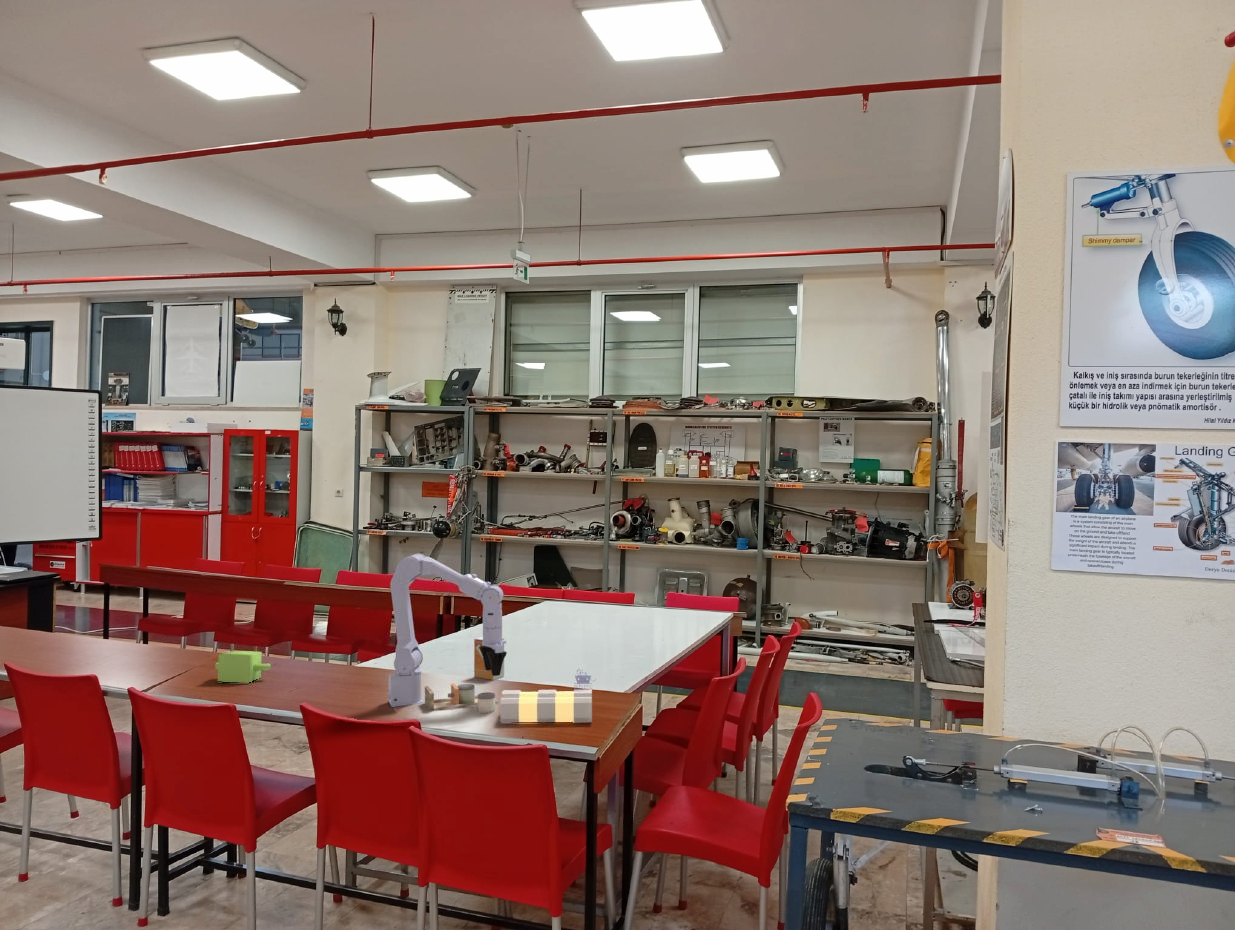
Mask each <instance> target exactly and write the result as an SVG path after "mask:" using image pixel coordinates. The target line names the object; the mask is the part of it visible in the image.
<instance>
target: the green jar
mask: <svg viewBox="0 0 1235 930" xmlns="http://www.w3.org/2000/svg"><path fill="white" fill-rule="evenodd" d="M456 686H457V687H458V688H459V704H467V703H475V695H476V694H475V693H476V692H475V684H472V683H462V684H458V685H456Z"/></svg>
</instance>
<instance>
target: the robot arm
mask: <svg viewBox="0 0 1235 930" xmlns="http://www.w3.org/2000/svg"><path fill="white" fill-rule="evenodd" d="M430 575H434V576H436V577H439V578H441V579H443V580H446V581H447V582H450V583H453V584H455V585H457V586H458V589H459V591H460V592H461V593H463V594H466V595H467V596H468V597H472V598H473V599H475V600H477V601H480V602H481V604H482V636H483V641H482V645H483V646H480V647H479V649H480V651H481V653H482V656H483V660H484V665H485V669H486V670H491V672H492V676H498V675H500V672H501V668H502V663H503V660H504V661H505V658H506V656H507V654H508V653H507V651H505V650H504V651H503V652H502V645H503V644H504V645H505V644H507V640H505V639H504V640H502V638H503V610H502V609H503V606H502V601H503V598H504V591H503V589H502V588H501V587H500V586H499V585H497V584H492V582H490V581H484V580H482V579H480V578H479V577H478V575H477V574H476V573H472V574H471V573H467V574H462V573H459V572H457V571H455V570H454V569H452V568H451V567H449V566H447V565H445V564H443V563H442V562H439V560H436V559H434V558H432V557H430V556H426V555H424V554H423V553H414V554H412V555H409V556H405V557H404V558H403V559H401V560H400V561H399V562H398V563H397V564H396V569H395V571H394V574H393V576H392V577H391V579H390V593H391V601H392V608H393V609H392V610H393V616H394V625H395V634H396V640H397V644H396V646H395V657H394V661H393V668H394V669H395V671H396V672H395V673H392V674H389V675H388V680H387V682H388V686H387V687H388V693H387V697H388V698H387V699H388V700H387V701H388V704H389V705H390V706H391V708H395V707H398V706H399V707H400V706H409V705H417V704H425V700H423V698H422V670H421V668H420V666H421V664H422V662H423V661H424V655H423V652H422V651H421V650H420V648H419V642H418V641H417V639H416V635H415V629H414V628H415V627H414V620H413V611H412V604H411V597H410V596H411V595H410V588H409V587H410V586H411V584H412V583H413V582H414V581H415V580H416V578H418V577H419V576H430Z"/></svg>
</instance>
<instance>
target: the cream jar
mask: <svg viewBox="0 0 1235 930" xmlns="http://www.w3.org/2000/svg"><path fill="white" fill-rule="evenodd" d="M477 695H478V707H477V712H478V713H484V714H488V713H489V714H490V713H494V712H495V711H496V705H495V700H496V693H495V692H487V691H486V692H480V693H477Z"/></svg>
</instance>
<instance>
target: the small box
mask: <svg viewBox="0 0 1235 930" xmlns="http://www.w3.org/2000/svg"><path fill="white" fill-rule="evenodd" d="M502 640H505V637H502ZM473 641H474V644H473V645H474V652H473V654H474V655H473V656H474V657H473V658H474V659H473V662H474V663H473V665H474V666H473V667H474V670H473V672H474V674H473V675H474V678H479V679H484V680H485V679H486V680H490V679H491V680H490V681H495V680H497V679H499V678H503V677H504V676H505V659H504V660H503V663H502V668H501V672H500V675H498V676H492V672H491V670H486V669H485V665H484V660H483V656H482V653H481V651H480V649H479V647H480V646H483V645H482V641H483V635H482V636H479V637H476V638H474V640H473ZM503 651H505V644H503V645H502V652H503Z"/></svg>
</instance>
